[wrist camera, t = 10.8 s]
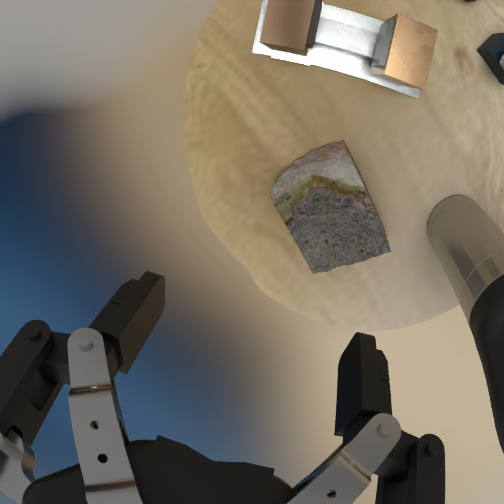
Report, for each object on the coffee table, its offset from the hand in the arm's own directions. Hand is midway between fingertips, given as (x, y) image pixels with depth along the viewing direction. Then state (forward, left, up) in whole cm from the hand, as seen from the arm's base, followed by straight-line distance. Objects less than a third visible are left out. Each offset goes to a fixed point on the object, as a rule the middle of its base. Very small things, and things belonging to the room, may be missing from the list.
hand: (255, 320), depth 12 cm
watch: (-22, -22, -29) cm, 43 cm away
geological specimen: (-6, +6, -30) cm, 31 cm away
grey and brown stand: (-2, -15, -29) cm, 33 cm away
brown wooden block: (+4, -15, -28) cm, 32 cm away
